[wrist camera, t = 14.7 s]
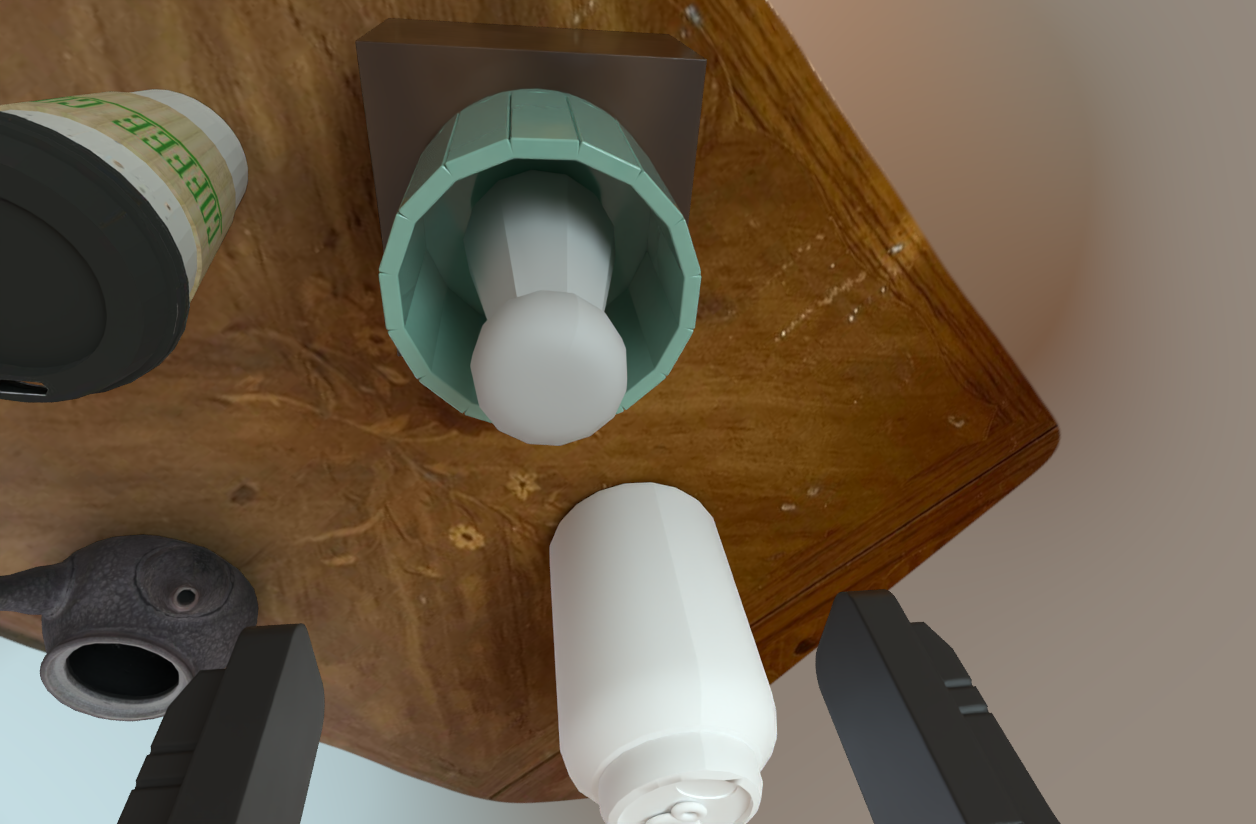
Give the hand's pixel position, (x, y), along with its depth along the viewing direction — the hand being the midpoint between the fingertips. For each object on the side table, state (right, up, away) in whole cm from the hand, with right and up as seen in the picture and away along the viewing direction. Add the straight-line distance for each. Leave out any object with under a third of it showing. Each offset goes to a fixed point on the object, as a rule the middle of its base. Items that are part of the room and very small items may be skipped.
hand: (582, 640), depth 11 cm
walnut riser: (-4, +16, +26) cm, 30 cm away
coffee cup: (-21, +16, +23) cm, 35 cm away
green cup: (-3, +12, +19) cm, 23 cm away
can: (+1, -6, +42) cm, 42 cm away
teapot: (-33, -6, +36) cm, 49 cm away
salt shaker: (-3, +11, +18) cm, 22 cm away
